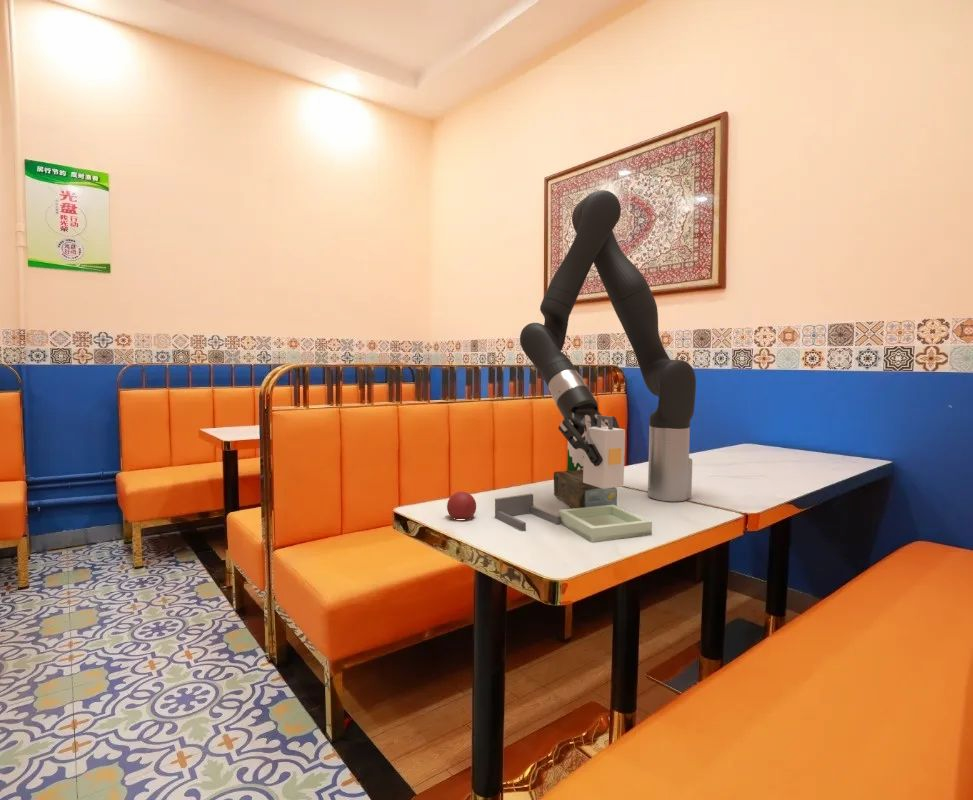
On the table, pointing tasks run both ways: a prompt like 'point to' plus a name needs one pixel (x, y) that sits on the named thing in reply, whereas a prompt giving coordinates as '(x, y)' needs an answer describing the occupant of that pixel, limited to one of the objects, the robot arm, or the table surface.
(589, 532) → the tray
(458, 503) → the fruit
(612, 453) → the white tall block
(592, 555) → the table surface
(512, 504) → the bay
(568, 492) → the beverage carton
